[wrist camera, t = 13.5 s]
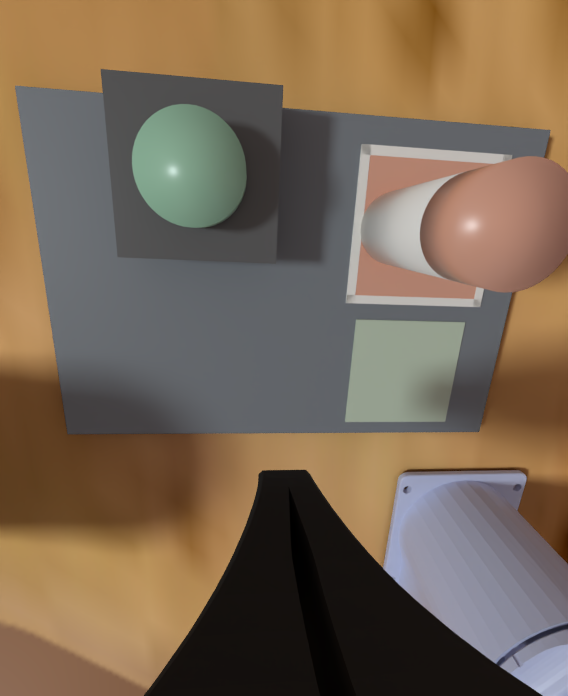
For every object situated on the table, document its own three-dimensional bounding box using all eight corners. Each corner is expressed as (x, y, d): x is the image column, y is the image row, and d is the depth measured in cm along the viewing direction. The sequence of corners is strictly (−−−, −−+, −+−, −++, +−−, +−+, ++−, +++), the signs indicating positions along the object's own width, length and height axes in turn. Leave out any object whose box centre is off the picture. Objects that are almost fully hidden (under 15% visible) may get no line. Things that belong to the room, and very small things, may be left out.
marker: (422, 266, 17) (558, 295, 10) (356, 262, 17) (445, 289, 9) (434, 193, 16) (597, 161, 9) (365, 188, 16) (471, 150, 8)
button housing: (272, 259, 17) (276, 263, 14) (136, 253, 16) (117, 257, 14) (278, 107, 15) (283, 85, 13) (124, 94, 14) (101, 69, 12)
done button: (246, 230, 14) (245, 230, 12) (147, 225, 13) (136, 224, 12) (247, 121, 13) (247, 108, 11) (140, 112, 12) (127, 99, 11)
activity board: (470, 424, 21) (480, 433, 20) (74, 426, 19) (66, 435, 18) (536, 134, 17) (552, 129, 16) (27, 93, 15) (13, 84, 14)
